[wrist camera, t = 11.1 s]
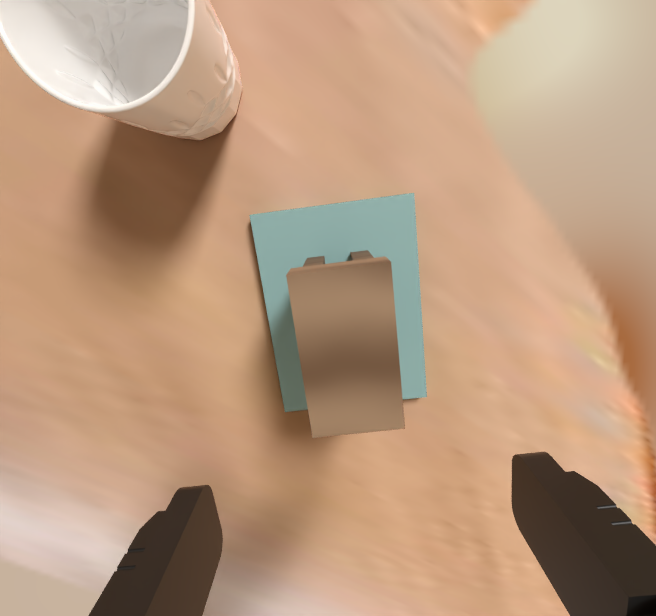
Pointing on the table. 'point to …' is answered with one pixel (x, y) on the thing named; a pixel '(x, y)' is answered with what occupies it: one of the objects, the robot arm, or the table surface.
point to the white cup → (129, 60)
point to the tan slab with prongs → (348, 344)
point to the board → (335, 245)
